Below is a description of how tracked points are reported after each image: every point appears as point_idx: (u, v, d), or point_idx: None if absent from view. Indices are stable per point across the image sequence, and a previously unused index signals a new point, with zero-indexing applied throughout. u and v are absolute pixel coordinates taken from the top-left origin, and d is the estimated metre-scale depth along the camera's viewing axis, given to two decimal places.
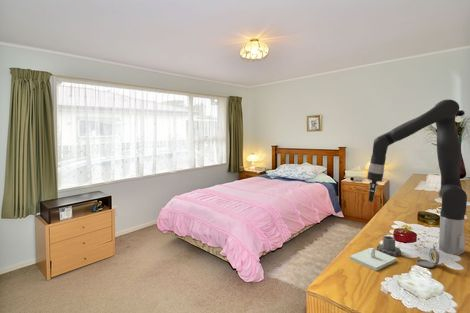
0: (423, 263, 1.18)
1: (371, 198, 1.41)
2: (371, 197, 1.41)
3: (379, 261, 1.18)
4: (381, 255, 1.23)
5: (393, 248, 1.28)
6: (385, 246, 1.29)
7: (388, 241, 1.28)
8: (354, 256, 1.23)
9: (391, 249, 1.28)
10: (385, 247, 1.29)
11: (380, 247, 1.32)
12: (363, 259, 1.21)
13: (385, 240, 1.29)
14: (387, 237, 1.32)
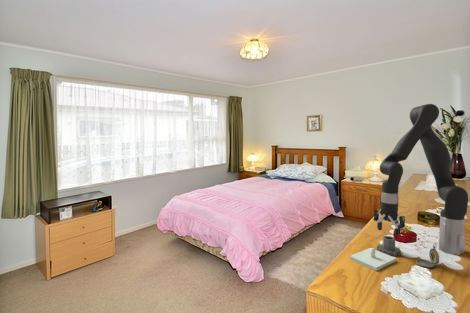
0: (423, 263, 1.18)
1: (399, 232, 1.25)
2: (399, 231, 1.25)
3: (379, 261, 1.18)
4: (381, 255, 1.23)
5: (393, 248, 1.28)
6: (385, 246, 1.29)
7: (388, 241, 1.28)
8: (354, 256, 1.23)
9: (391, 249, 1.28)
10: (385, 247, 1.29)
11: (380, 247, 1.32)
12: (363, 259, 1.21)
13: (385, 240, 1.29)
14: (387, 237, 1.32)
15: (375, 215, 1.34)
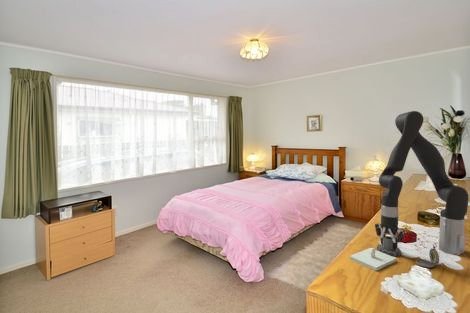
0: (423, 263, 1.18)
1: (397, 245, 1.27)
2: (397, 244, 1.27)
3: (379, 261, 1.18)
4: (381, 255, 1.23)
5: None
6: (385, 246, 1.29)
7: (388, 241, 1.28)
8: (354, 256, 1.23)
9: (391, 249, 1.28)
10: (385, 247, 1.29)
11: (380, 247, 1.32)
12: (363, 259, 1.21)
13: (385, 240, 1.29)
14: (387, 237, 1.32)
15: (377, 230, 1.34)
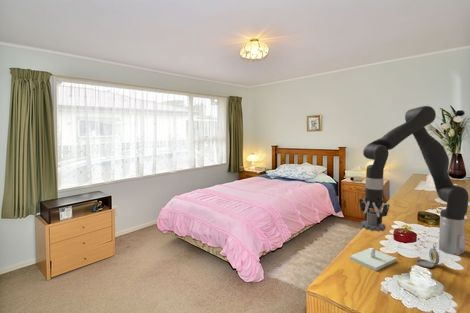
0: (423, 263, 1.18)
1: (381, 220, 1.18)
2: (381, 219, 1.18)
3: (379, 261, 1.18)
4: (381, 255, 1.23)
5: None
6: (369, 221, 1.21)
7: (372, 216, 1.19)
8: (354, 256, 1.23)
9: (375, 224, 1.19)
10: (369, 222, 1.21)
11: (364, 223, 1.23)
12: (363, 259, 1.21)
13: (369, 215, 1.21)
14: (371, 212, 1.23)
15: (361, 205, 1.25)
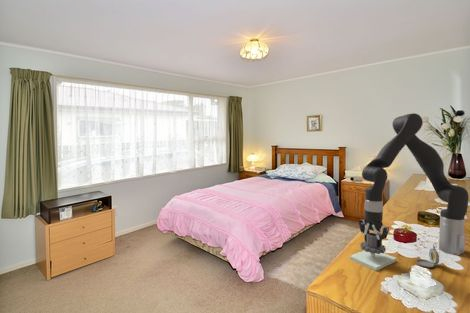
0: (423, 263, 1.18)
1: (381, 243, 1.18)
2: (381, 241, 1.18)
3: (379, 261, 1.18)
4: (381, 255, 1.23)
5: None
6: (369, 243, 1.21)
7: (372, 238, 1.19)
8: (354, 256, 1.23)
9: (375, 246, 1.19)
10: (369, 244, 1.21)
11: (364, 244, 1.23)
12: (363, 259, 1.21)
13: (369, 237, 1.20)
14: (371, 234, 1.23)
15: (361, 226, 1.25)
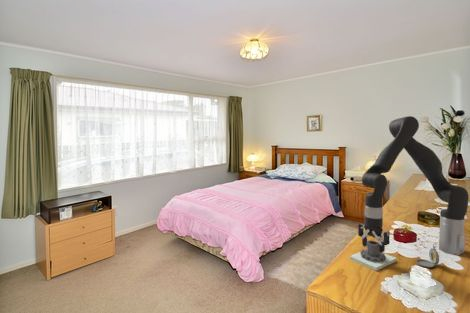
0: (423, 263, 1.18)
1: (384, 248, 1.17)
2: (384, 247, 1.17)
3: None
4: None
5: (377, 254, 1.20)
6: (369, 251, 1.21)
7: (372, 246, 1.20)
8: (354, 256, 1.23)
9: (375, 255, 1.20)
10: (369, 253, 1.21)
11: (364, 252, 1.23)
12: (363, 259, 1.21)
13: (369, 245, 1.21)
14: (371, 242, 1.23)
15: (359, 230, 1.26)
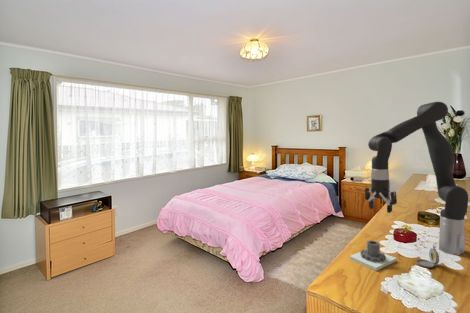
0: (423, 263, 1.18)
1: (391, 208, 1.21)
2: (391, 207, 1.21)
3: None
4: None
5: (377, 254, 1.20)
6: (369, 251, 1.21)
7: (372, 246, 1.20)
8: (354, 256, 1.23)
9: (375, 255, 1.20)
10: (369, 253, 1.21)
11: (364, 252, 1.23)
12: (363, 259, 1.21)
13: (369, 245, 1.21)
14: (371, 242, 1.23)
15: (366, 194, 1.30)
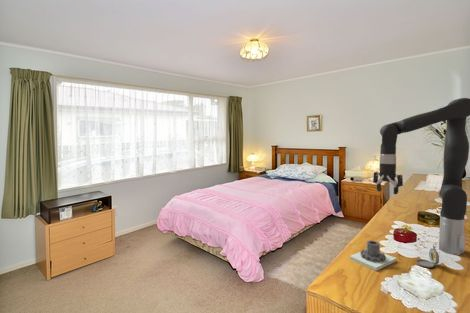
0: (423, 263, 1.18)
1: (397, 190, 1.33)
2: (397, 189, 1.32)
3: None
4: None
5: (377, 254, 1.20)
6: (369, 251, 1.21)
7: (372, 246, 1.20)
8: (354, 256, 1.23)
9: (375, 255, 1.20)
10: (369, 253, 1.21)
11: (364, 252, 1.23)
12: (363, 259, 1.21)
13: (369, 245, 1.21)
14: (371, 242, 1.23)
15: (374, 177, 1.41)
